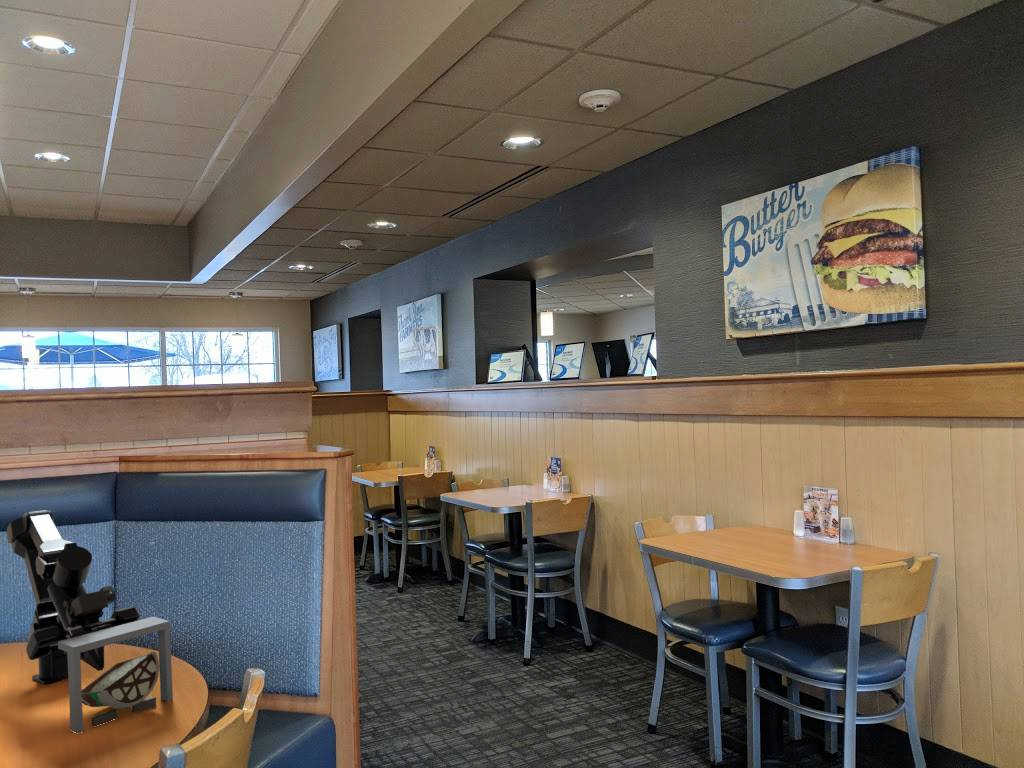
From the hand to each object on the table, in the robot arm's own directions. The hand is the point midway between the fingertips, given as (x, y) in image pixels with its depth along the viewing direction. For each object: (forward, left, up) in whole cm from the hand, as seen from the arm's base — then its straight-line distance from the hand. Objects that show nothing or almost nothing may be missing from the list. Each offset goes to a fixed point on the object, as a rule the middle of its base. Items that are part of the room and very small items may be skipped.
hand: (101, 669), depth 145 cm
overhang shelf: (+6, 0, -7) cm, 9 cm away
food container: (0, 0, -4) cm, 4 cm away
